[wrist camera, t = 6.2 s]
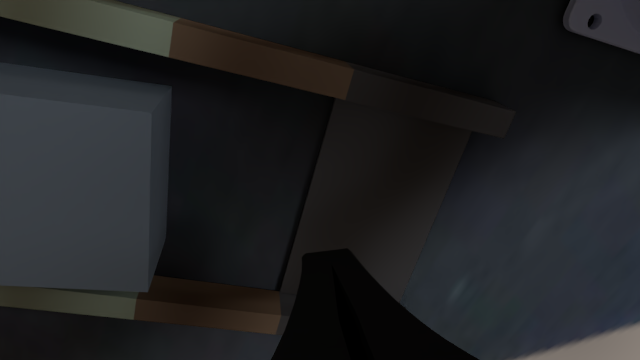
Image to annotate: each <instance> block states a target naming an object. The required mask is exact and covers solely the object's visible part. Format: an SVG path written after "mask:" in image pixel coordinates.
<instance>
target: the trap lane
mask: <svg viewBox="0 0 640 360" xmlns="http://www.w3.org/2000/svg"><path fill="white" fill-rule="evenodd" d="M0 17H4V18H9V19H13V20H17V21H21V22H25V23H29V24H33V25H37V26H42V27H46V28H50V29H54V30H58V31H62V32H66V33H70V34H75V35H79V36H83V37H87V38H91V39H95V40H99V41H103V42H108V43H112V44H116V45H120V46H124V47H128V48H132V49H136V50H141V51H145V52H149V53H153V54H157V55H161V56H165V57H169V58H174V59H178V60H182V61H186V62H190V63H194V64H198V65H202V66H207V67H211V68H215V69H219V70H223V71H227V72H231V73H235V74H240V75H244V76H248V77H252V78H256V79H260V80H264V81H269V82H273V83H277V84H281V85H285V86H289V87H293V88H297V89H302V90H306V91H310V92H314V93H318V94H322V95H326V96H330V97H335V98H334V102H333V105H332V109H331V112H330V116H329V119H328V123H327V126H326V130H325V133H324V137H323V140H322V144H321V147H320V151H319V154H318V158H317V161H316V165H315V168H314V172H313V175H312V178H311V182H310V185H309V189H308V192H307V196H306V199H305V203H304V206H303V210H302V213H301V217H300V220H299V224H298V227H297V231H296V234H295V238H294V241H293V245H292V248H291V252H290V255H289V258H288V262H287V265H286V269H285V272H284V276H283V279H282V283H281V286H280V291H273V290H265V289H257V288H249V287H242V286H234V285H226V284H218V283H210V282H203V281H195V280H187V279H179V278H171V277H163V276H156V275H154V276H153V278H152V281H151V284H150V287H149V290H148V292H131V291H109V290H87V289H66V288H44V287H23V286H1V285H0V306H6V307H16V308H25V309H35V310H45V311H54V312H64V313H74V314H83V315H93V316H102V317H112V318H122V319H131V320H141V321H151V322H160V323H170V324H179V325H189V326H199V327H208V328H218V329H228V330H237V331H247V332H256V333H266V334H276V335H283V333H284V331H285V328H286V326H287V323H288V320H289V317H290V314H291V312H292V309H293V306H294V303H295V299H296V295H297V291H298V288H299V283H300V278H301V272H302V256H303V255H304V254H305V253H313V252H321V251H329V250H337V249H345V248H348V249H349V250H350V251H352V253H353V254H354V255H355V257H356V258H357V259H358V260H359V262H360V263H361V264H362V265H363V266H364V268H365V269H366V270H367V271H368V272H369V273H370V274H371V275H372V277H373V278H374V279H375V280H376V281H377V282H378V283H379V284H380V285H381V286H382V287H383V288H384V289H385V290H386V291H387V292H388V293H389V294H390V295H391V296H392V297H393V298H394V299H395V300H396V301H397V302H399V303H400V300H401V298H402V296H403V293H404V291H405V289H406V286H407V284H408V282H409V279H410V277H411V275H412V272H413V270H414V267H415V265H416V263H417V260H418V258H419V256H420V253H421V251H422V249H423V246H424V244H425V241H426V239H427V237H428V234H429V232H430V230H431V227H432V225H433V223H434V220H435V218H436V215H437V213H438V211H439V208H440V206H441V204H442V201H443V199H444V197H445V194H446V192H447V189H448V187H449V185H450V182H451V180H452V178H453V175H454V173H455V171H456V168H457V166H458V164H459V161H460V159H461V156H462V154H463V152H464V149H465V147H466V145H467V142H468V140H469V138H470V135H471V133H472V131H475V132H479V133H483V134H487V135H491V136H495V137H500V138H505V136H506V133H507V131H508V129H509V127H510V125H511V122H512V120H513V118H514V116H515V114H516V112H515V111H513V110H511V109H510V108H508V107H506V106H504V105H502V104H500V103H498V102H496V101H493V100H489V99H485V98H481V97H478V96H474V95H470V94H466V93H463V92H459V91H455V90H451V89H447V88H444V87H440V86H436V85H432V84H429V83H425V82H421V81H417V80H413V79H410V78H406V77H402V76H398V75H395V74H391V73H387V72H383V71H379V70H376V69H372V68H368V67H364V66H361V65H357V64H353V63H349V62H345V61H342V60H338V59H334V58H330V57H326V56H323V55H319V54H315V53H311V52H308V51H304V50H300V49H296V48H292V47H289V46H285V45H281V44H277V43H274V42H270V41H266V40H262V39H258V38H255V37H251V36H247V35H243V34H240V33H236V32H232V31H228V30H224V29H221V28H217V27H213V26H209V25H206V24H202V23H198V22H194V21H190V20H187V19H183V18H179V17H175V16H172V15H168V14H164V13H160V12H156V11H153V10H149V9H145V8H141V7H138V6H134V5H130V4H126V3H122V2H119V1H115V0H0ZM404 308H405V307H404ZM405 309H406V308H405Z"/></svg>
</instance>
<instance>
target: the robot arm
mask: <svg viewBox="0 0 640 360" xmlns="http://www.w3.org/2000/svg"><path fill="white" fill-rule="evenodd" d="M592 15H593V16H594V21H593V23H592V25H591V26H590V27H588V20H589V18H590V17H591V16H592ZM563 25H564V27H565V29H567V30H568V31H570V32H573V33H576V34H579V35H582V36H585V37H588V38H591V39H595V40H598V41H601V42H604V43H607V44H610V45H613V46H616V47H619V48H622V49H625V50H629V51H632V52H635V53H638V54H640V0H570V2H569V4H568V7H567V9H566V11H565V13H564V17H563ZM271 360H479V359H477V358H475V357H474V356H472V355H470V354H468V353H467V352H465V351H464V350H462V349H460V348H459V347H457V346H455V345H454V344H452V343H451V342H449V341H447V340H446V339H444V338H443V337H441V336H440V335H438V334H437V333H436V332H434V331H433V330H431V329H430V328H429V327H427V326H426V325H425V324H423V323H422V322H421V321H420V320H418V319H417V318H416V317H415V316H414V315H412V314H411V313H410V312H409V311H408V310H406V309H405V308H404V307H403V306H402V305H401V304H400V303H399V302H397V301H396V300H395V299H394V298H393V297H392V296H391V295H390V294H389V293H388V292H387V291H386V290H385V289H384V288H383V287H382V286H381V285H380V284H379V283H378V282H377V281H376V280H375V279H374V278H373V277H372V275H371V274H370V273H369V272H368V271H367V270H366V269H365V268H364V266H363V265H362V264H361V263H360V262H359V260H358V259H357V258H356V257H355V255H354V254H353V253H352V251H350V250H349V249H348V248H345V249H337V250H329V251H321V252H313V253H305V254H304V255H303V256H302V272H301V278H300V283H299V288H298V291H297V295H296V299H295V303H294V306H293V309H292V312H291V314H290V317H289V320H288V323H287V326H286V328H285V331H284V333H283V336H282V338H281V340H280V342H279V344H278V347H277V349H276V351H275V353H274V355H273V357H272V359H271Z"/></svg>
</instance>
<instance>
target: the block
mask: <svg viewBox="0 0 640 360" xmlns="http://www.w3.org/2000/svg"><path fill="white" fill-rule="evenodd" d="M171 99H172V86H168V85H161V84H153V83H146V82H139V81H132V80H124V79H117V78H110V77H103V76H95V75H88V74H81V73H74V72H66V71H59V70H52V69H45V68H37V67H30V66H23V65H16V64H8V63H1V62H0V285H1V286H23V287H44V288H66V289H87V290H109V291H131V292H148V290H149V287H150V284H151V281H152V278H153V276H154V273H155V270H156V267H157V264H158V261H159V258H160V255H161V252H162V249H163V246H164V243H165V240H166V227H167V202H168V176H169V150H170V125H171Z"/></svg>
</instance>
